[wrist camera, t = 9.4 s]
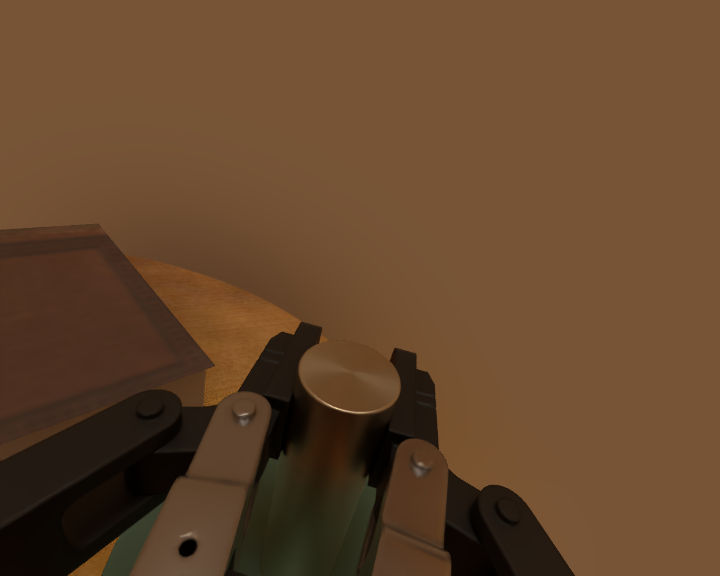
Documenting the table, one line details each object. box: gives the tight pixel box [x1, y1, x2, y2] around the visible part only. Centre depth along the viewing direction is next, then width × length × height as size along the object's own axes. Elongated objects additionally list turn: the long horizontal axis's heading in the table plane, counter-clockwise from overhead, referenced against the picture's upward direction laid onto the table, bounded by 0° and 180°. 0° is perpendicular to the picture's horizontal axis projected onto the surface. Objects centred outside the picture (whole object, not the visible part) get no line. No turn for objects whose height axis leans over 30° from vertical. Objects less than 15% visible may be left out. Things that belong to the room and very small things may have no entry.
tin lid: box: [102, 340, 401, 576], centre depth 11 cm, size 12×12×10 cm
